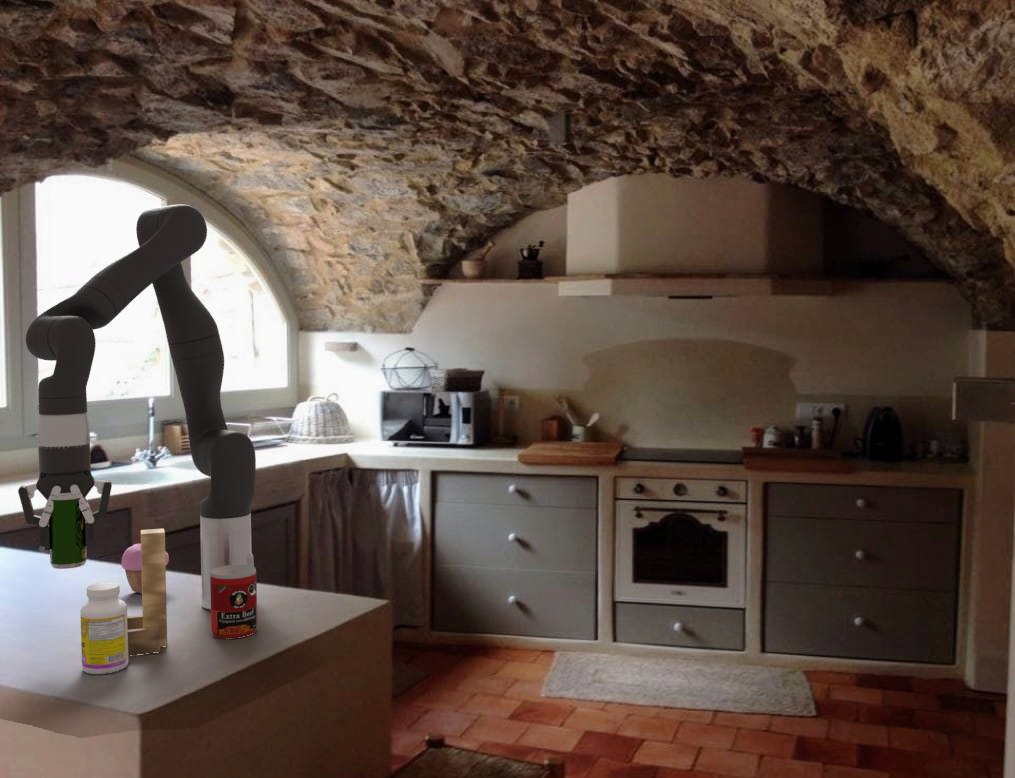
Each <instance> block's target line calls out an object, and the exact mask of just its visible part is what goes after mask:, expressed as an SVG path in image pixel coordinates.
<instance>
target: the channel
mask: <svg viewBox="0 0 1015 778" xmlns="http://www.w3.org/2000/svg"><path fill="white" fill-rule="evenodd" d="M127 628H128V656H130V655H137V654H146V653H153V652H160V653H161V649H160V639H159V627H150V628H143V614H141V615H140V614H139V615H138V614H137V615H127ZM130 657H131V656H130Z"/></svg>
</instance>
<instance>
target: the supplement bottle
mask: <svg viewBox="0 0 1015 778" xmlns="http://www.w3.org/2000/svg"><path fill="white" fill-rule="evenodd" d="M120 589H121V588H120V584H119V583H117V582H102V583H101V582H99V583H95V584H91V585H88V586H87V587H86V597H87V598H88V601H87V602H85V603H84V605H83V606H82V607H81V608H80V642H81V646H80V647H81V667H82V670H83V671H84V673H87V674H89V675H106V674H105V673H109V674H112V673H111V672H114V673H116V672H115V671H117V672H120V671H122V670H124V669H125V668H126V667H127V666H128V665H129V657H128V628H127V616H128V605H127V603H126V602H125V601H124V600H123V599H121V598H119V595H120V592H121V591H120ZM123 668H124V669H123ZM121 669H122V670H121ZM119 670H120V671H119Z"/></svg>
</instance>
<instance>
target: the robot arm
mask: <svg viewBox="0 0 1015 778" xmlns="http://www.w3.org/2000/svg"><path fill="white" fill-rule="evenodd" d="M135 229H136V238H137V242H138V246H139V247H138V248H136V249H135V250H133V251H132V252H130V253H128V254H126V255H124V256H122V257H121V258H119V259H117V260H115V261H114V262H112V263H111V264H108V265H107V266H105V267H104V268H102V269H101V270H100V271H99V272H97V273H96V274H94V275H93V277H91V278H90V279H89V280H88V281H86V283H84V284H83V285H82V286H81V287H80V288H79V289H78V290H77V291H76V292H75V293H74V294H73V295H71V296H70V297H67V298H66V299H64V300H62V301H60V302H58V303H56V304H54V305H53V306H52V307H49V308H48V309H47V310H45V311H44V312H42V313H40V314H39V315H38V316H37V317H36V318H35V319H34V320H33V321H32V322H31V324H30V325H29V326H28V328H27V330H26V334H25V346H26V348H27V350H28V352H29V353H30V354H31V355H32V356H34V357H35V358H36V359H40V360H43V361H52V362H53V361H55V365H54V370H53V373H52V375H50V376H45V377H44V378H41V380H40V381H39V382H38V386H37V387H38V388H37V393H38V394H37V397H38V398H37V399H38V402H37V403H38V424H37V439H36V441H37V445H38V447H37V448H38V450H37V451H38V471H39V473H38V474H39V475H38V476H39V477H38V479H37V481H36V482H35V483H33V484H32V483H31V484H28V485H20V486H19V488H18V490H17V493H18V496H19V499H20V504H21V508H22V510H23V514H24V518H25V522H26V523H27V524H28V525H36V526H37V527H38V528H39V544H40V546H41V548H43V547H44V551H50V532H49V518H50V516H51V513H52V511H53V501H52V500H53V499H54V498H55V497H58V496H59V495H58V493H62V492H72V493H73V492H74V494H73V495H76V496H77V497H78V498H80V499H79V508H80V510H81V512H82V513H83V515H84V517H85V522H86V523H85V536H86V548H88V547H91V545H92V544H91V543H95V540H96V535H95V534H96V530H95V528H96V527H95V524H96V522H97V521H99V520H101V519H102V520H103V519H105V518H106V517H107V513H108V508H109V507H108V506H109V502H110V497H111V492H112V486H113V484H112V481H111V480H110V479H106V480H99V479H95V478H94V477H93V474H92V466H91V465H92V463H91V435H90V432H91V431H90V422H89V419H88V401H87V400H88V399H87V397H88V396H87V395H88V394H87V385H88V382H89V378H90V375H91V370H92V366H93V361H94V356H95V351H96V345H97V344H96V335H95V333H94V330H98V329H102V328H104V327H106V326H107V325H109V324H110V323H111V322H112V321H113V320H114V319H115V318H116V317H117V316H118V315H120V313H122V311H123V310H124V309H126V308H127V307H128V306H129V304H130V303H131V302H133V301H134V300H135V299H136V298H137V297H138V296H140V294H141V293H142V292H143V291H145V290H146V289H147V288H148V287H150V286H151V285H152V287H153V289H154V293H155V296H156V300H157V304H158V307H159V311H160V315H161V317H162V322H163V326H164V330H165V335H166V340H167V345H168V349H169V352H170V358H171V360H172V365H173V368H174V371H175V375H176V379H177V383H178V388H179V392H180V397H181V400H182V404H183V407H184V413H185V419H186V426H187V432H188V433H187V434H188V435H187V436H188V441H189V449H190V454H191V459H192V461H193V464H194V466H195V468H196V469H197V470H198V471H199V472H200V473H201V474H203V475H205V476H206V477H210V488H209V493H208V496H207V497H205V498H203V499H202V500H201V501H200V506H199V511H200V512H199V513H200V516H199V519H200V520H199V522H200V523H199V525H200V567H201V568H200V569H201V570H200V571H201V573H200V574H201V575H200V576H201V606H202V607H203V608H204V609H206V610H211V591H210V573H211V570H212V569H214V568H217V567H221V566H226V565H250V566H253V567H255V566H254V565H255V563H254V554H253V553H252V513H251V512H252V504H253V502H254V499H255V495H256V494H255V493H256V470H257V469H256V467H257V461H256V460H257V459H256V449H255V446H254V443H253V441H252V440H251V438H250V437H249V436H248V435H247V434H246V433H243V432H241V431H237V430H230V429H229V428H228V426H227V422H226V419H225V415H224V412H223V408H222V401H221V391H222V383H223V378H224V370H225V354H224V349H223V344H222V339H221V337H220V333H219V327H218V324H217V322H216V320H215V319H214V318H213V316H212V314H211V313H210V311H209V310H208V309H207V307H206V306H205V304H204V303H203V302H202V301H201V300H200V298H198V296H197V295H196V294H195V292H194V291H193V290H192V288H191V287H190V285H189V283H188V280H187V278H186V275H185V272H184V269H183V265H182V262H183V261H184V260H187V259H188V258H189V257H191V256H193V255H194V254H196V253H197V252H198V251H199V250H200V249H202V248H203V246H204V244H205V242H206V239H207V235H208V227H207V222H206V219H205V218H204V216H203V214H202V213H201V212H200V211H199V210H198V209H197V208H195V206H191V205H189V204H180V203H179V204H170V205H163V206H159V207H154V208H150V209H146V210H145V211H143V212H141V213H140V215H139V216H138V218H137V221H136V228H135ZM94 487H95V488H96V491H97V492H96V493H98V494H99V495H101V496H100V501H99V505H98V510H96V511H92V509H91V506H90V503H89V502H88V500H87V498H86V497H87V496H88V494H89V493H90V491H92V489H93V488H94ZM36 491H38V492H39V493H40V494H41V495H42V496H43V497H44V499H45V500H46V504H45V506H44V508H43V510H42V513H41V516H40V515H36V514H35V509H34V507H33V504H32V499H34V497H35V492H36ZM81 503H83V504H81ZM49 505H51V506H49Z"/></svg>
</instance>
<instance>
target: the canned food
mask: <svg viewBox="0 0 1015 778" xmlns="http://www.w3.org/2000/svg"><path fill="white" fill-rule="evenodd" d="M257 582H258V580H257V569H256V566H254V567H253V566H250V565H226V566H221V567H217V568H214V569H212V570H211V573H210V591H211V609H210V619H211V621H210V624H211V627H210V629H211V630H210V631H211V633H212V635H213V637H215V638H217V637H218V638H217V639H221V638H223V639H222V640H229V639H228V638H238V637H243V636H247V635H250V634H252V633H254V632H255V631H257V628H258V602H257V601H258V595H257V593H258V591H257V590H258V589H257V586H258V583H257ZM255 633H256V632H255ZM255 633H254V634H255ZM252 635H253V634H252ZM250 636H251V635H250ZM247 637H248V636H247ZM226 638H227V639H226ZM238 639H239V638H238Z"/></svg>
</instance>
